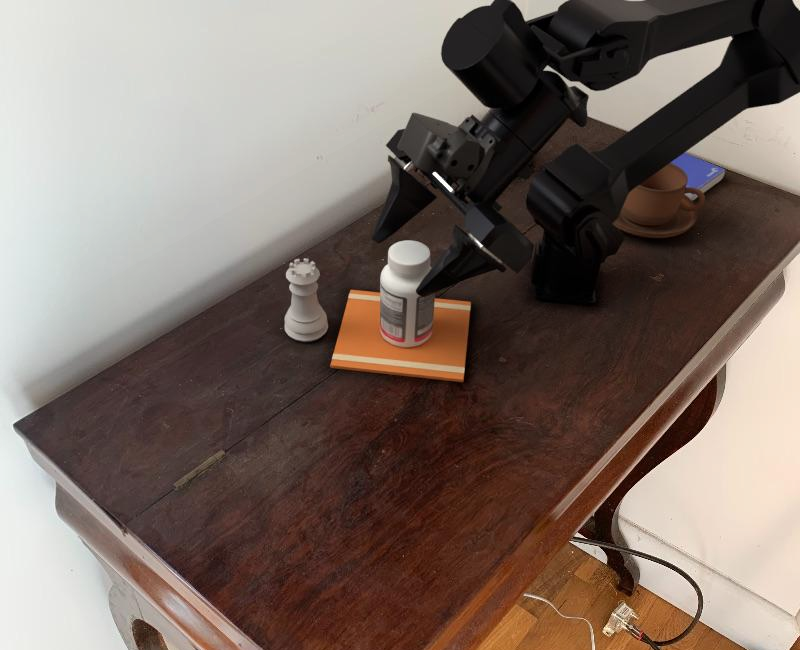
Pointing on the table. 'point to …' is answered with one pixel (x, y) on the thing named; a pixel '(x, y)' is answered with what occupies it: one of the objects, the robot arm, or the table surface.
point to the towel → (373, 353)
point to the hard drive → (699, 173)
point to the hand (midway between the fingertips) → (396, 266)
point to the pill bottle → (406, 295)
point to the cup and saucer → (660, 205)
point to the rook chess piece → (304, 303)
